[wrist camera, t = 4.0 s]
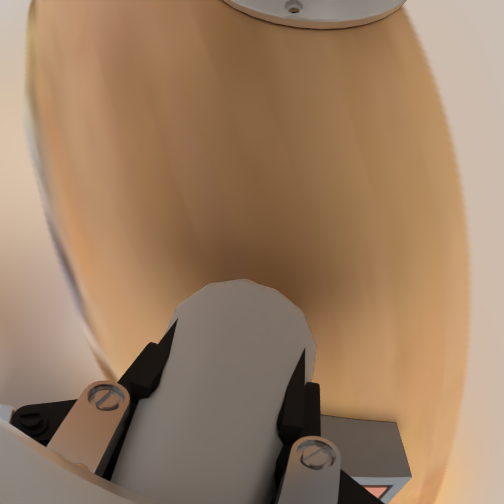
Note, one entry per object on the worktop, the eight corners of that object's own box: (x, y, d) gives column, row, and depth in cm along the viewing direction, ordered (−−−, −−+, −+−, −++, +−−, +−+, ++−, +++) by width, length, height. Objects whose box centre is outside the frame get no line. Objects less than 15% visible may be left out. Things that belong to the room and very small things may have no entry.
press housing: (235, 398, 18) (217, 456, 13) (396, 422, 17) (412, 476, 12) (215, 483, 21) (201, 528, 16) (338, 501, 20) (340, 545, 15)
